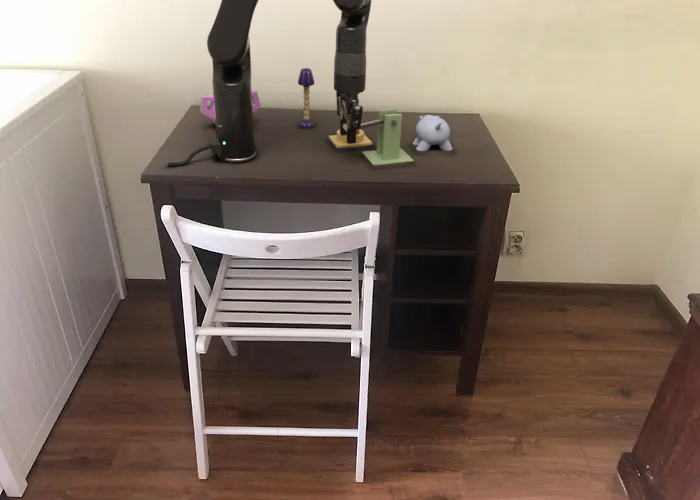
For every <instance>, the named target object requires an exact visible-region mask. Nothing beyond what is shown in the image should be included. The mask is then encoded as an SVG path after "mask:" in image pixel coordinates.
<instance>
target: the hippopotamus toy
mask: <svg viewBox="0 0 700 500" xmlns="http://www.w3.org/2000/svg"><path fill="white" fill-rule="evenodd" d="M418 119H419V121H417V122H418V123H417V124H416V127H415V133H416V137H415V138H414V141H413V142H412V144H413V145H414V146H416V148H415V150H416V151H419V152H420V151H421V152H427V151H429V150H430V149H431V146H435V145H438V147H439V148H440V150H442V151H452V150H453V146H452V144H451V141H450V140H449V138H450V135H451V129H450V126H449V124H448V123H447V122H446V120H444V119H443V118H441V117H440V116H439V115H432V114H426V115H420V116H419V117H418Z"/></svg>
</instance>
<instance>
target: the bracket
mask: <svg viewBox="0 0 700 500" xmlns="http://www.w3.org/2000/svg"><path fill="white" fill-rule="evenodd" d="M392 112H393V113H395V114H389V115H384V114H388V113H392ZM383 115H384V124H380V125H377V132H376V134H377V135H376V150H365V151H361V153H362V154H363V155H364V157H365V159H367V160H368V161H369V162H370V163H371V164H372V166H382V165H391V164H403V163H409V162H410V163H411V162H415V160H414V159H413V158H412V157H411V156H410V155H409V154H408V153H407V152H406V151H405V150H403V148H402V147H401V137H402V123H403V114H402V113H397V109H396V108H385V109H378V113H377V120H378V119H382V118H383Z"/></svg>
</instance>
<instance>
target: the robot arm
mask: <svg viewBox="0 0 700 500" xmlns="http://www.w3.org/2000/svg"><path fill="white" fill-rule="evenodd" d="M332 1H333V3H334V5H335V6H336V8H337V9H338V10H339V11H340V12H341V13H340V20H339V23H338V24H337V26H336V30H335V51H334V58H333V62H334V63H333V90H334V91H335V92H336V93H335V98H336V116H338V120H339V129H340V135H341V136H346V135H347V143H348V144H353V143H356V129H360V127H361V124H362V118H363V110H364V107H363V105H360V99H359V96H358V95H359V94H360V93H363V92H365V90H366V81H367V28H368V23H369V18H370V14H371V8H372V0H332ZM258 3H259V0H221V2H220V5H219V8H218V11H217V14H216V16H215V19H214V21H213V24H212V26H211V29H210V30H209V33H208V35H207V38H206V47H207V52H208V54H209V56H210V57H211V61H212V78H211V79H212V80H211V81H212V82H211V83H212V95H213V94H214V105H215V116H216V118H215V124H214V125H215V136H210V137H208V143H209V144H207V145H204V146H202V147H199V148H197V149H195V150H194V151H192V152H191V153H190V154H189V155H188V157H187V158H186V159H184V160H182V161H176V162H175V161H173V162H167V167H180V166H184V165H187V164H189V163H190V162H191V161H192V159H193V158H194V157H195V156H196V155H198V154H200V153H202V152H204V151H207V150H209V149H210V151H211V154H212V155H217V154H218V158H219V160H220V162H221V163H230V164H231V163H232V164H237V163H238V164H240V163H246V162H249V161H252V160H254V159H255V158H256V155H257V147H256V143H255V142H256V141H255V127H254V126H255V125H254V112H253V108H252V103H253V101H252V64H251V63H252V60H251V59H252V57H251V42H250V41H251V40H250V36H249V35H250V30H251V25H252V21H253V17H254V13H255V10H256V6H257V5H258ZM344 124H347V132H346V131H345V130H344V129H343V125H344Z"/></svg>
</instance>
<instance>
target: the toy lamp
mask: <svg viewBox="0 0 700 500" xmlns="http://www.w3.org/2000/svg"><path fill="white" fill-rule="evenodd" d="M314 78H315V77H314V75H313V71H312V69H311V68H307V67H306V68H305V67H304V68H301V69H300V71H299V74H298V79H297V84H298V85H299V86H302V87H303V91H302V93H303V119H302V120H301V121H300V122H299V127H300V128H301V129H312V128H314V127H315V124H314V121H313V120H311V119H310V108H311V107H310V102H311V101H310V99H311V98H310V97H311V96H310V87H313V86H314V85H315V79H314Z"/></svg>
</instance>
